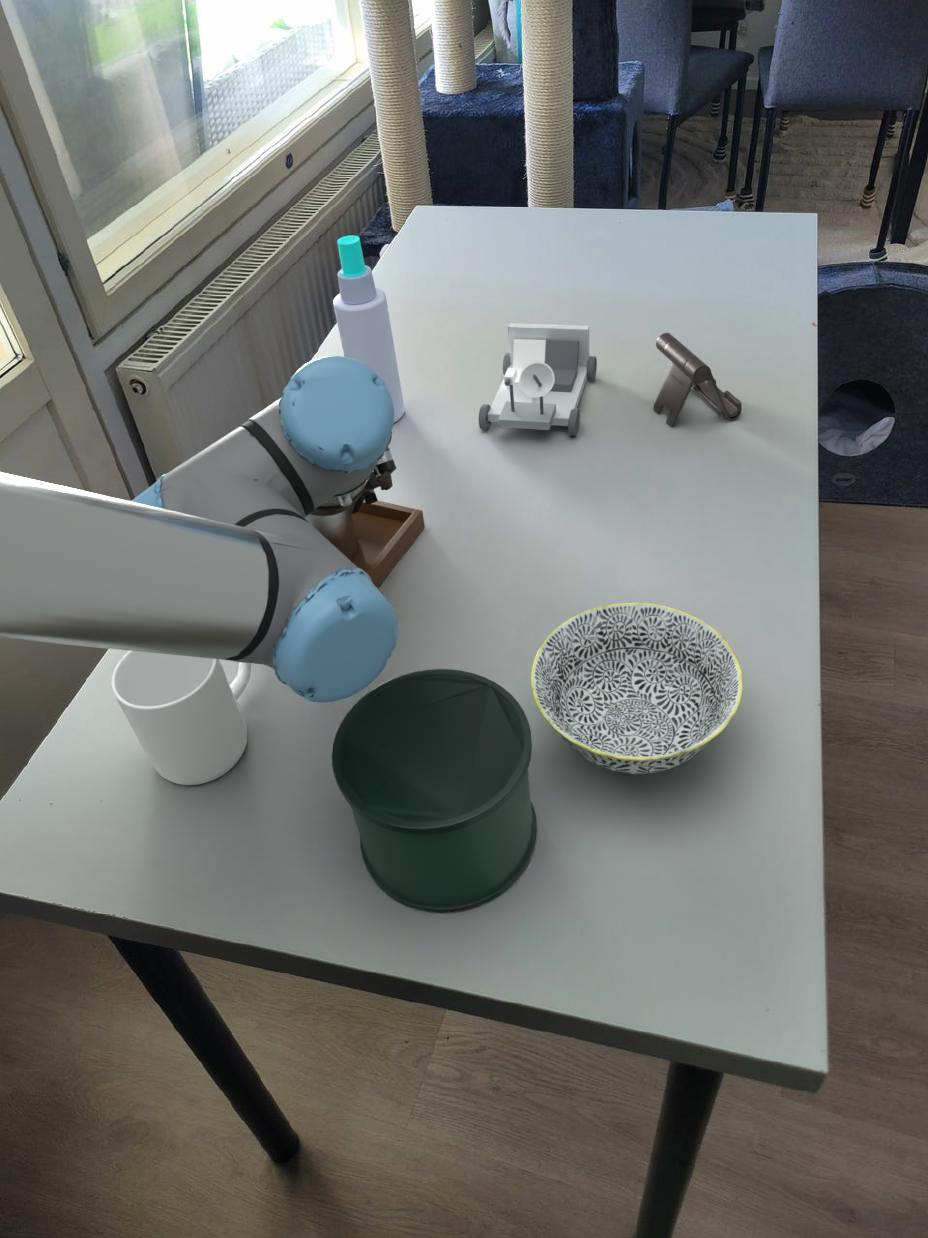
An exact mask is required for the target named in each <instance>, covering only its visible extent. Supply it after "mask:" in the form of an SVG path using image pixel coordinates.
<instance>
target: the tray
mask: <svg viewBox="0 0 928 1238" xmlns="http://www.w3.org/2000/svg"><path fill="white" fill-rule="evenodd" d="M363 499H364V498H363ZM352 519H353V523H354V527H355V532H356V536H357V540H358V551H357V553H356V555H355V556H354V558H353V559H352V560H351V562H352V563H353V564H354V565H356V566H357V567H358V568H360V569H362V570H363V571H364V572H366V573H367V574H368V575H369V576H370V578H371V580H372V583H373V584H374V585H375V586H376V588H377V589H378V590H379V588H380V586H382V584H383V582H384V581H385V580H386V578H388V576H389V575H390V573H391V572H392V571H393V569H394V568H395V567H396V566H397V564H398V563H399V562H400V560H401V559H402V558H403V556H405V554H406V553H407V552H408V550H409V549H410V547H411V546H412V545H413V543H414V542H415V541H416V540H417V538H418V537H419V536H420V534H421V533H422V532H423V531H424V529H425V528H426V525H425V518H424V513H423V510H422V509H418V508H413V507H410V506H409V507H408V506H403V505H400V504H395V503H392V502H391V503H390V502H386V501H381V500H378V501H376V502H374V503H372V504H368V505H367V504H366V501H365V499H364V501H363V503H362V505H361V506H360V508H359V510H358V512H357V513H354V514H352Z"/></svg>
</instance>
